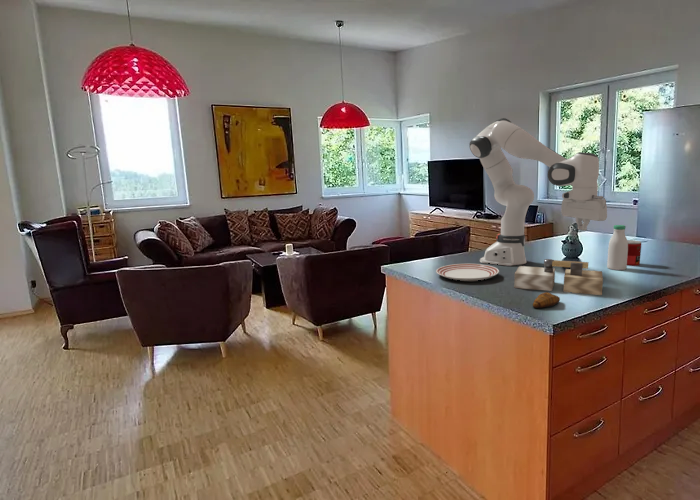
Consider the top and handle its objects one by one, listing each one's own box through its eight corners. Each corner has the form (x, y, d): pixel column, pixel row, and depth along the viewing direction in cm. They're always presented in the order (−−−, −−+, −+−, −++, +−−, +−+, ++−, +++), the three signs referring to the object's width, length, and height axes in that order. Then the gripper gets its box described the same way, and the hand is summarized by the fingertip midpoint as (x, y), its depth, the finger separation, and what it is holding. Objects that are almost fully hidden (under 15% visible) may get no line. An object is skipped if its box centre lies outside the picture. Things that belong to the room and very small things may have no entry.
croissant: (542, 311, 153) (543, 297, 152) (525, 307, 159) (526, 293, 158) (567, 304, 160) (568, 290, 159) (550, 300, 166) (550, 286, 165)
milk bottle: (629, 270, 204) (632, 226, 200) (610, 270, 205) (613, 226, 202) (622, 266, 211) (625, 224, 207) (604, 266, 213) (607, 224, 209)
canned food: (639, 266, 210) (641, 243, 208) (619, 265, 215) (621, 242, 213) (639, 263, 217) (641, 240, 215) (620, 261, 221) (621, 239, 219)
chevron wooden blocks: (514, 287, 183) (515, 262, 181) (518, 279, 195) (519, 255, 193) (601, 295, 169) (603, 267, 167) (601, 285, 181) (602, 259, 179)
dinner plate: (461, 287, 187) (461, 280, 186) (424, 274, 211) (424, 267, 211) (512, 279, 197) (512, 271, 197) (472, 267, 222) (472, 260, 221)
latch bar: (588, 267, 177) (588, 261, 176) (587, 269, 174) (588, 263, 173) (544, 264, 184) (544, 258, 184) (543, 266, 181) (543, 260, 181)
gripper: (612, 196, 167) (610, 233, 170) (572, 193, 187) (570, 226, 189) (598, 196, 166) (596, 234, 168) (559, 193, 185) (557, 227, 188)
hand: (582, 230), depth 179 cm, fingers closed
